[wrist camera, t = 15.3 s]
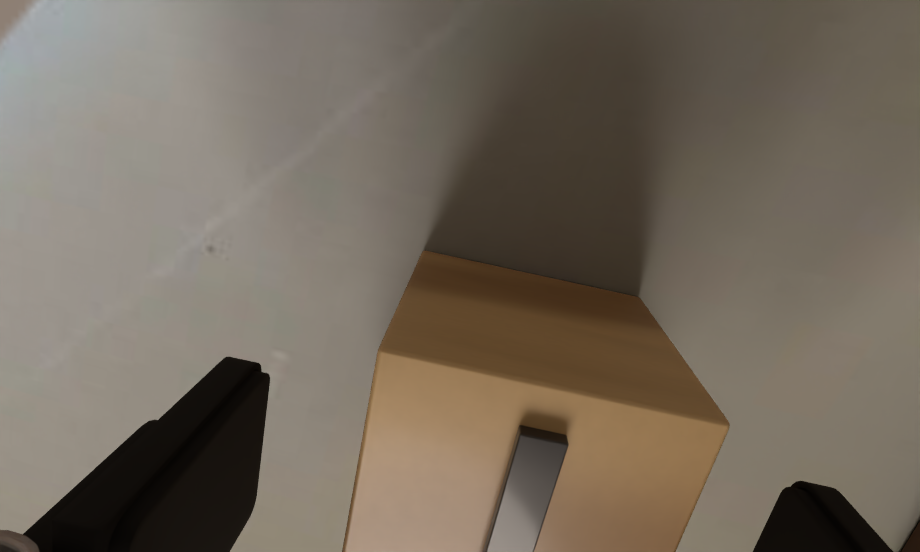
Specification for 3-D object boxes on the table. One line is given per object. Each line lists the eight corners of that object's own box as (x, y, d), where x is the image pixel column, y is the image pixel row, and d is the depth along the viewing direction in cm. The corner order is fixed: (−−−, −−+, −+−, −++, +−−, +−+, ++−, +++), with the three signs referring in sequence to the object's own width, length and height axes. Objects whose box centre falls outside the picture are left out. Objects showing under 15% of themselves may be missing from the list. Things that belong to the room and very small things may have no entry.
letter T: (422, 249, 12) (373, 355, 7) (640, 296, 12) (741, 434, 7) (386, 434, 14) (326, 626, 9) (579, 476, 14) (626, 689, 9)
